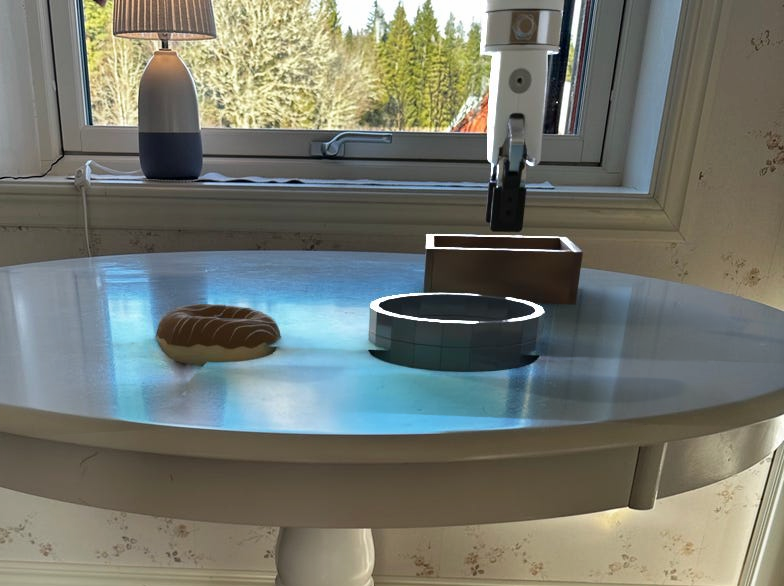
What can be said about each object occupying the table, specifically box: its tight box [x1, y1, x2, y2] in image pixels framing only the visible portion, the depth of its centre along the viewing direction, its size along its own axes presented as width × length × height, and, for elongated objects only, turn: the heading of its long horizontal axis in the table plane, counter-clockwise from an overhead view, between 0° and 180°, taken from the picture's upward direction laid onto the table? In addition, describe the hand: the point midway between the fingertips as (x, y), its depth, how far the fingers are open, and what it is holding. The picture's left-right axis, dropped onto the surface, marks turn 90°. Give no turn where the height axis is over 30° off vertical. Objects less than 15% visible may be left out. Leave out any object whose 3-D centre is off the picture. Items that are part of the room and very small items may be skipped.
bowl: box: [367, 292, 546, 373], centre depth 81 cm, size 14×14×4 cm
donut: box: [155, 303, 282, 367], centre depth 81 cm, size 11×11×4 cm
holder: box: [422, 233, 584, 306], centre depth 104 cm, size 16×14×7 cm
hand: (502, 226), depth 101 cm, fingers open, 9 cm apart
